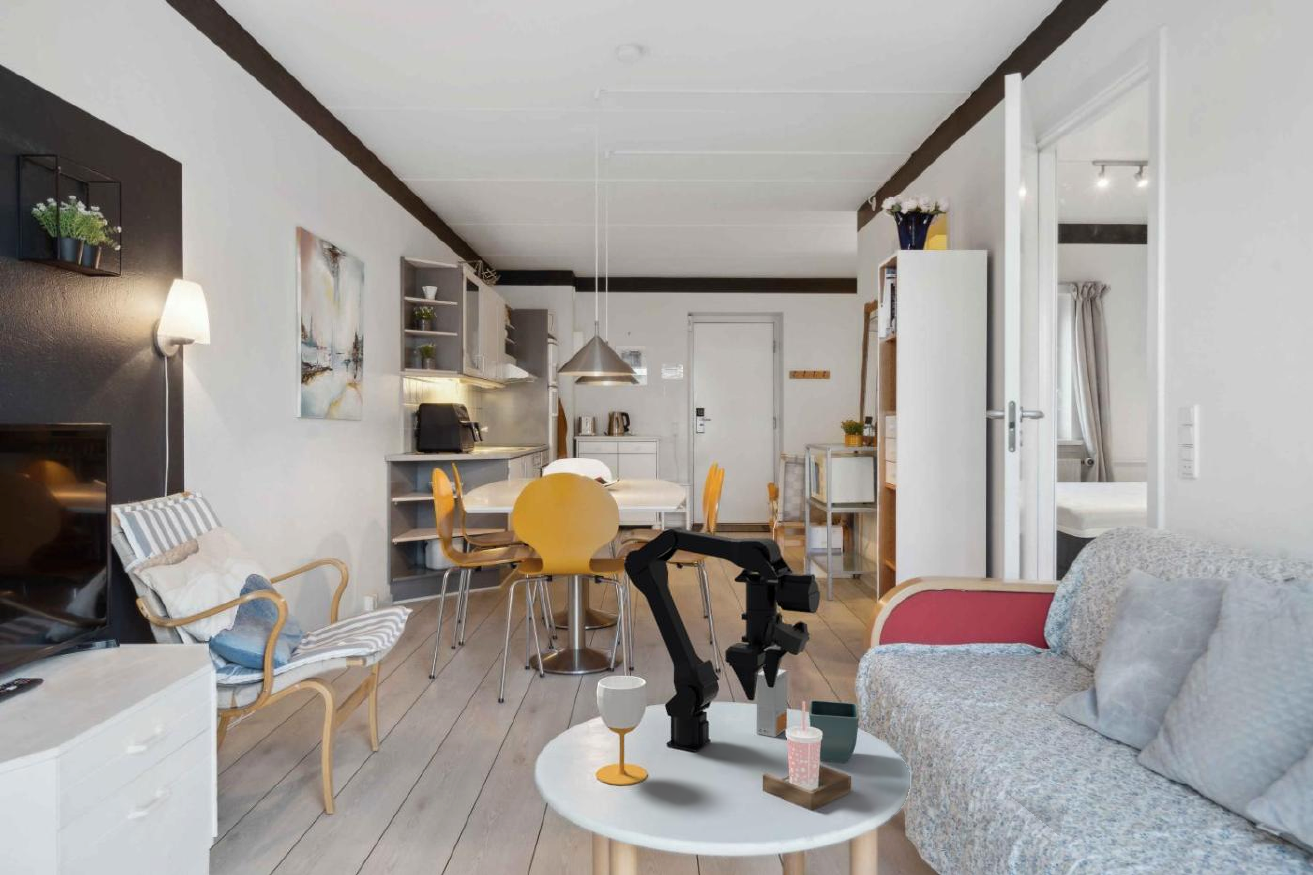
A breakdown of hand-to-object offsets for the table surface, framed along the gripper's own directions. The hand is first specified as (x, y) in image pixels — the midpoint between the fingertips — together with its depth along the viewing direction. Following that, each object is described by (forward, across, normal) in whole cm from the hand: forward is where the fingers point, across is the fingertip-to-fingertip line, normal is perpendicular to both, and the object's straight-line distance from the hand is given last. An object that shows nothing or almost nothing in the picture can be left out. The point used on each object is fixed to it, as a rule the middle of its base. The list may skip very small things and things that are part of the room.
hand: (761, 693), depth 149 cm
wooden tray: (+12, -9, -12) cm, 19 cm away
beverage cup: (+12, -9, -11) cm, 18 cm away
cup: (+12, -19, +18) cm, 29 cm away
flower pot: (+12, +8, -11) cm, 18 cm away
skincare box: (+12, +15, +4) cm, 20 cm away
